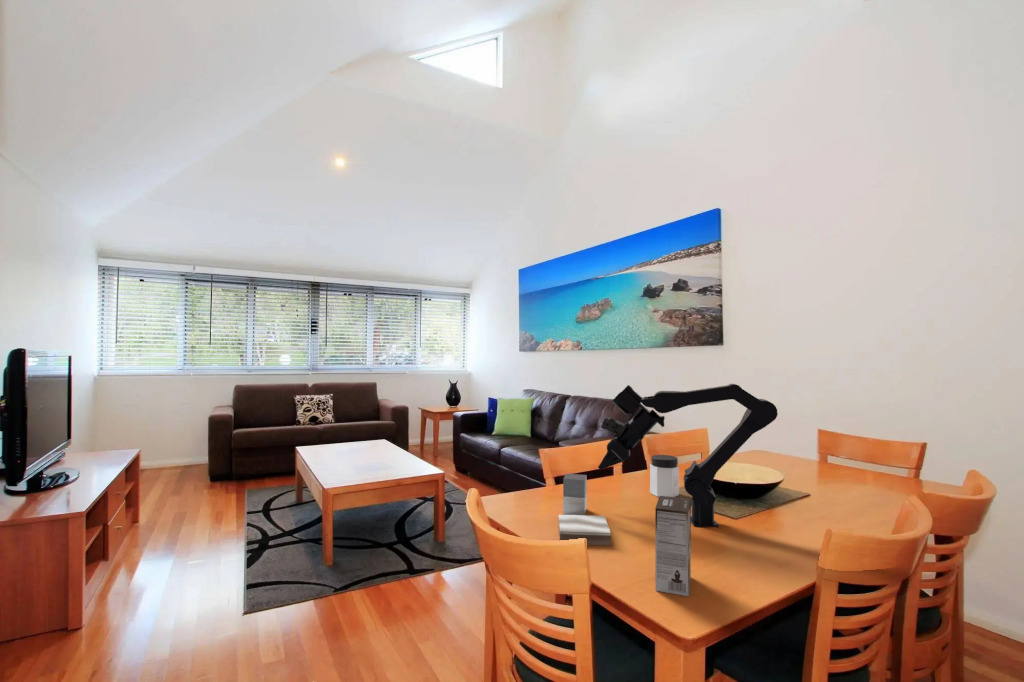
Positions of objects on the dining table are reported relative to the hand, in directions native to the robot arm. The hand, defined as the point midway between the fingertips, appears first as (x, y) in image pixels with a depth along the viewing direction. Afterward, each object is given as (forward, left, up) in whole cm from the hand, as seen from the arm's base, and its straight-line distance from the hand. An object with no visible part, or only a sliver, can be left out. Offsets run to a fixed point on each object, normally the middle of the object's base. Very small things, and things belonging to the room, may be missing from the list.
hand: (601, 465), depth 139 cm
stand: (-18, +7, -13) cm, 24 cm away
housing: (0, +8, -14) cm, 15 cm away
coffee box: (-42, -9, -14) cm, 45 cm away
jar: (+20, -22, -14) cm, 33 cm away
